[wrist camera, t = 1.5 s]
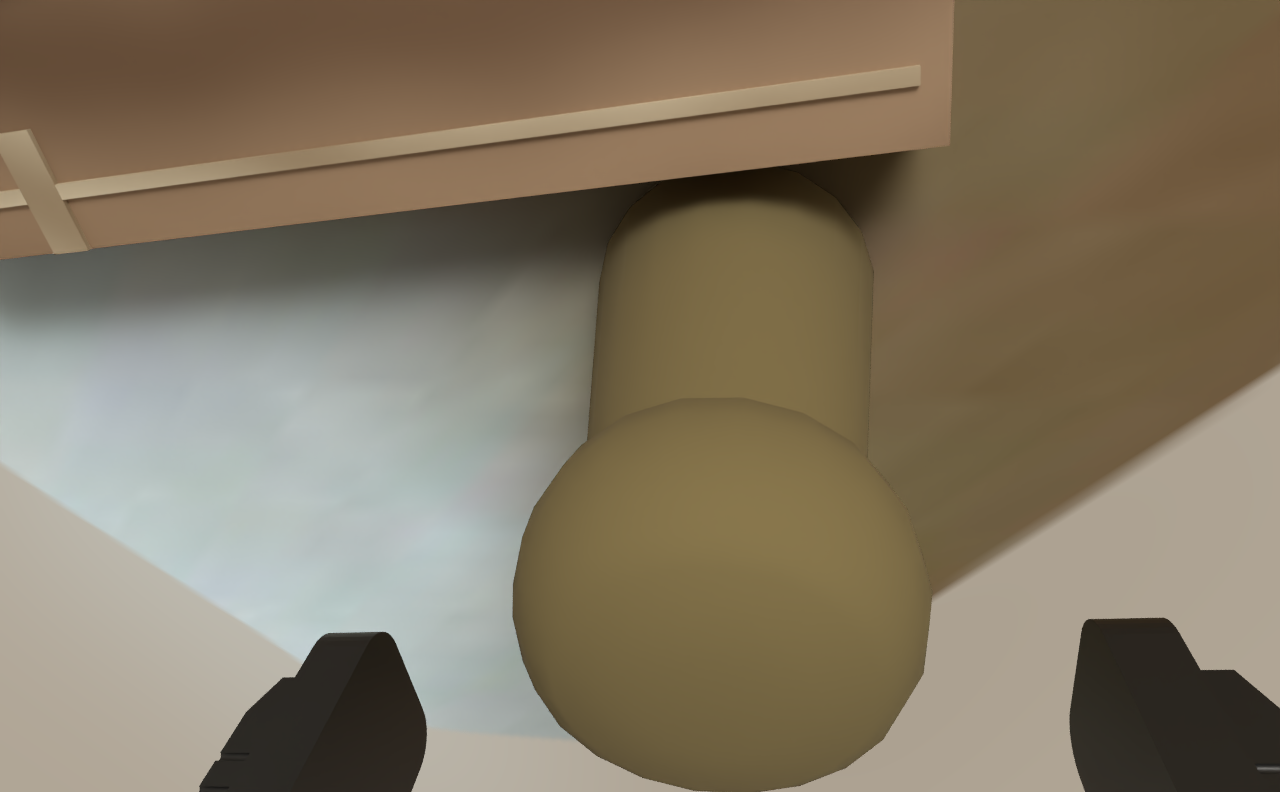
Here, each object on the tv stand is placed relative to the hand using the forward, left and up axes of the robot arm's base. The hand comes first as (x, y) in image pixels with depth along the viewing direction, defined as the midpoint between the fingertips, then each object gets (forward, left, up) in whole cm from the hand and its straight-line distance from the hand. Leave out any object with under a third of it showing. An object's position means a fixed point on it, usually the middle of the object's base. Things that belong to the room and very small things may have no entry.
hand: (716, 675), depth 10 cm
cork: (0, 0, -11) cm, 11 cm away
